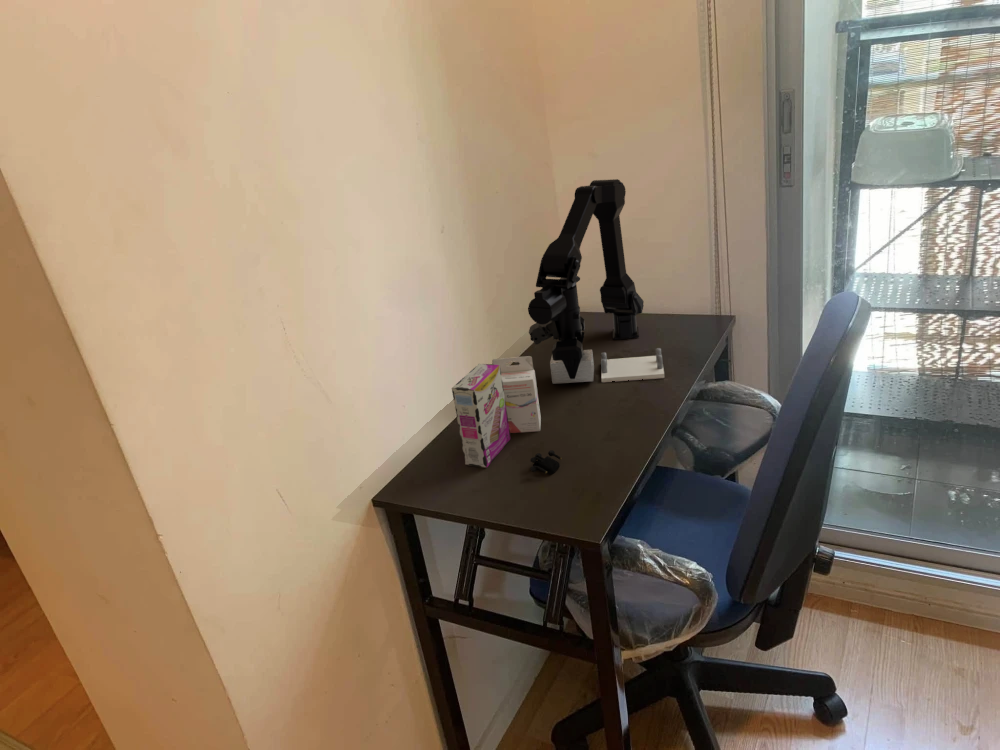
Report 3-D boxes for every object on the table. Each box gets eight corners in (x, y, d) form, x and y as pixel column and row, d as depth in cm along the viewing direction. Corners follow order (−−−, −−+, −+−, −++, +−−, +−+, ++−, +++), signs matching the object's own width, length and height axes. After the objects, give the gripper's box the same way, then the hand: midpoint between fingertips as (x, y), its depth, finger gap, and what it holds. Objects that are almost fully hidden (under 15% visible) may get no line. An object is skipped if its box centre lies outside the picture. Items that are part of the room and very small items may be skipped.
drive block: (555, 372, 160) (552, 352, 158) (594, 369, 158) (592, 349, 156) (552, 383, 155) (549, 363, 153) (593, 381, 153) (590, 360, 151)
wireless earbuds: (546, 476, 121) (523, 462, 124) (544, 486, 123) (521, 473, 125) (567, 456, 126) (544, 443, 128) (565, 466, 128) (542, 453, 130)
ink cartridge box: (498, 435, 140) (487, 369, 134) (500, 423, 144) (489, 358, 138) (540, 431, 138) (531, 364, 132) (542, 419, 143) (532, 354, 137)
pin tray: (602, 363, 163) (600, 348, 161) (661, 359, 160) (660, 343, 159) (601, 382, 154) (600, 366, 152) (664, 377, 151) (663, 361, 150)
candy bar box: (488, 469, 128) (473, 390, 122) (464, 466, 131) (449, 388, 124) (513, 438, 137) (500, 363, 131) (490, 436, 140) (477, 362, 133)
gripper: (532, 296, 160) (541, 358, 166) (523, 326, 143) (533, 393, 149) (581, 291, 158) (588, 354, 164) (578, 321, 141) (585, 390, 147)
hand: (573, 372), depth 156 cm, fingers closed on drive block, 6 cm apart
